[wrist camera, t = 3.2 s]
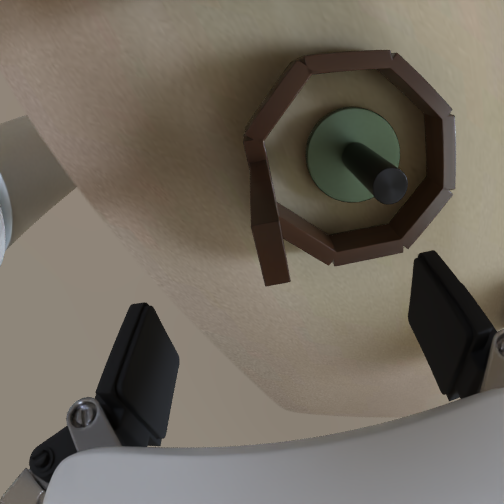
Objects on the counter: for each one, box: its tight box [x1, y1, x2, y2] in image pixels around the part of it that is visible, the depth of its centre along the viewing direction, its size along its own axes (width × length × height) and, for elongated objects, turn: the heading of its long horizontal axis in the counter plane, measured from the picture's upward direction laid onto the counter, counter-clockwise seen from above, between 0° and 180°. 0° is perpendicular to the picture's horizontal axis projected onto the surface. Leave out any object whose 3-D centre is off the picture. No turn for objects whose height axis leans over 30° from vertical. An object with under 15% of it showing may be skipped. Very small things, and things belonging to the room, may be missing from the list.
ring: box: [243, 50, 456, 286], centre depth 19 cm, size 17×17×13 cm
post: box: [306, 107, 408, 204], centre depth 21 cm, size 8×8×8 cm
